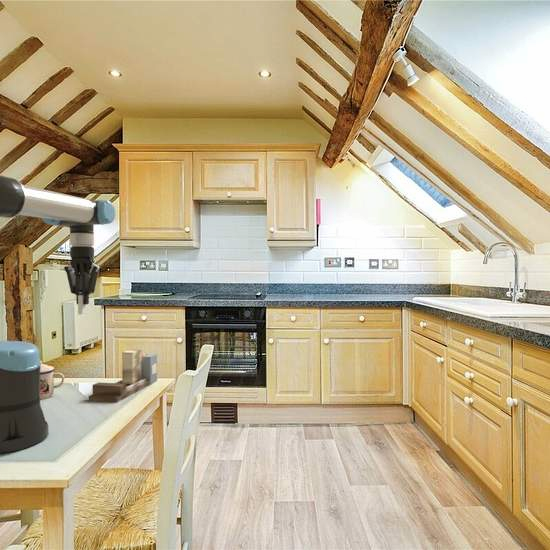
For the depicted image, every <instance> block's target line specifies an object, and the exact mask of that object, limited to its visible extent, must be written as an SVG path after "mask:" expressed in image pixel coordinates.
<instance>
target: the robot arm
mask: <svg viewBox="0 0 550 550" xmlns="http://www.w3.org/2000/svg"><path fill="white" fill-rule="evenodd" d="M17 216H24V217H25V216H26V217H32V218H40V219H41V221H43V223H45V224H47V225H51V226H56V227H65V228H69V245H70V246H71V247H70V248H69V252H70V253H69V256H70V264H68V265H67V266H64V267H63V269H64V271H65V273H66V277H67V281H68V285H69V289H70V294H74V295H75V296H76V297H75V298H76V300H75V301H76V305H77V307H78V308H77V309H78V311H77V313H78V314H77V315H88V305H89V303H90V296H89V295H91V294H94V293H95V290H96V285H97V281H98V276H99V272H100V270H101V268H102V267H101V266H99V265H97V264H96V263H95V260H94V257H95V248H94V246H95V242H94V241H95V238H94V237H95V235H94V233H95V232H94V226H95V225H101V226H103V225H109V224H111V223H113V222H114V221H115V217H116V209H115V206H114V204H113V203H112V202H111V201H110V200H108V199H107V200H106V199H98V200H92V199H88V198H84V197H79V196H76V195H75V196H74V195H70V194H66V193H62V192H57V191H53V190H48V189H43V188H39V187H33V186H30V185H24V184H22V183H21V182H20V181H19V180H17V179H16V178H12V177H9V176H5V175H0V218H8V219H9V218H10V219H11V218H12V219H13V218H15V217H17ZM39 349H40V348H39V347H38V346H37V345H36V344H34V343H31V342H27V341H20V340H2V341H0V454H5V453H11V452H16V451H19V450H23V449H26V448H30V447H33V446H35V445H37V444H39V443H41V442H42V441H45V440H46V438H47V437H49V423H48V421H47V420H46V419H45V414H44V411H43V409H42V406H41V400H40V364H41V362H40V361H42V360H41V358H40V350H39Z"/></svg>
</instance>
